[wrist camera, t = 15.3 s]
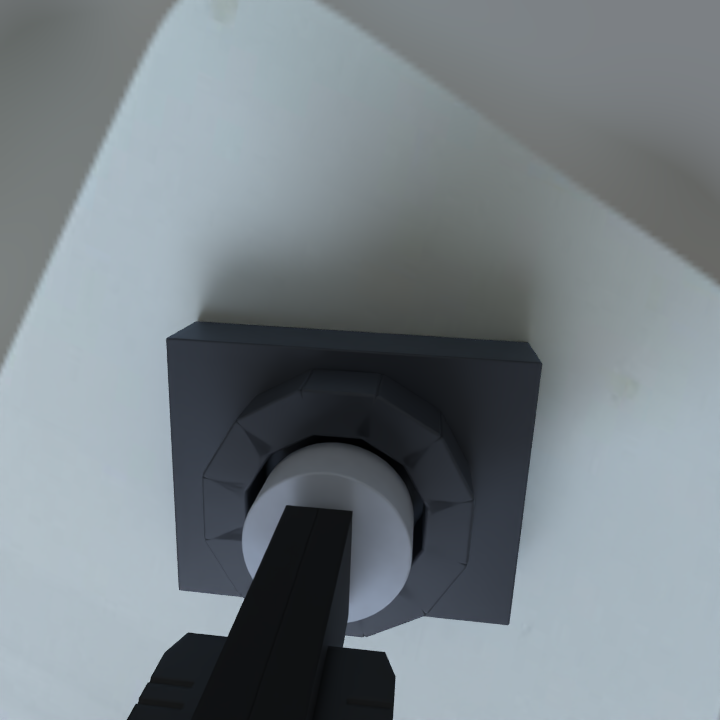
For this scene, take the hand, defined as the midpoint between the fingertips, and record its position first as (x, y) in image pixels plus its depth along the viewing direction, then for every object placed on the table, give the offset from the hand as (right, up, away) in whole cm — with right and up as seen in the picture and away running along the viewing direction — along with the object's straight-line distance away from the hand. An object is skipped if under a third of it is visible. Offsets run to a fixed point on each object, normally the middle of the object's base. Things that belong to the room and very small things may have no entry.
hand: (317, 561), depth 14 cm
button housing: (+1, +2, +5) cm, 6 cm away
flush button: (0, +1, +2) cm, 2 cm away
